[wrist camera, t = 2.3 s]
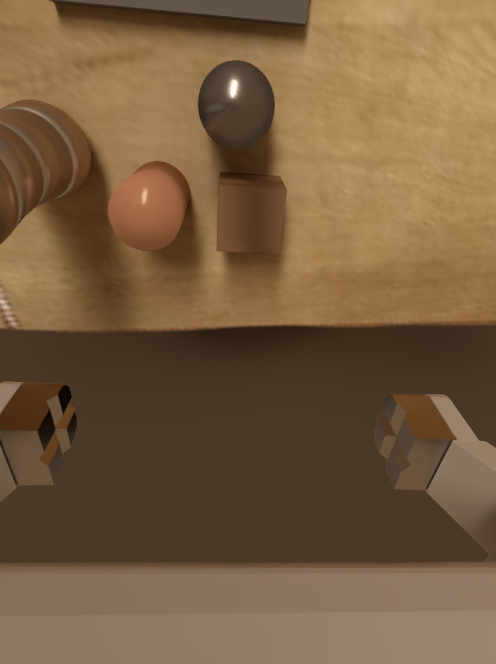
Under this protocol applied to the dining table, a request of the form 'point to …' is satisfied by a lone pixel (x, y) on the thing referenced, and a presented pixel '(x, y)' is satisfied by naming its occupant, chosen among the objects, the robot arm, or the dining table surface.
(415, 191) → the dining table surface
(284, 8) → the charcoal board
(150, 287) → the dining table surface
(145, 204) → the terracotta jar
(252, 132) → the dark metal tin
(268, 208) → the walnut block
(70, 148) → the plastic bottle
